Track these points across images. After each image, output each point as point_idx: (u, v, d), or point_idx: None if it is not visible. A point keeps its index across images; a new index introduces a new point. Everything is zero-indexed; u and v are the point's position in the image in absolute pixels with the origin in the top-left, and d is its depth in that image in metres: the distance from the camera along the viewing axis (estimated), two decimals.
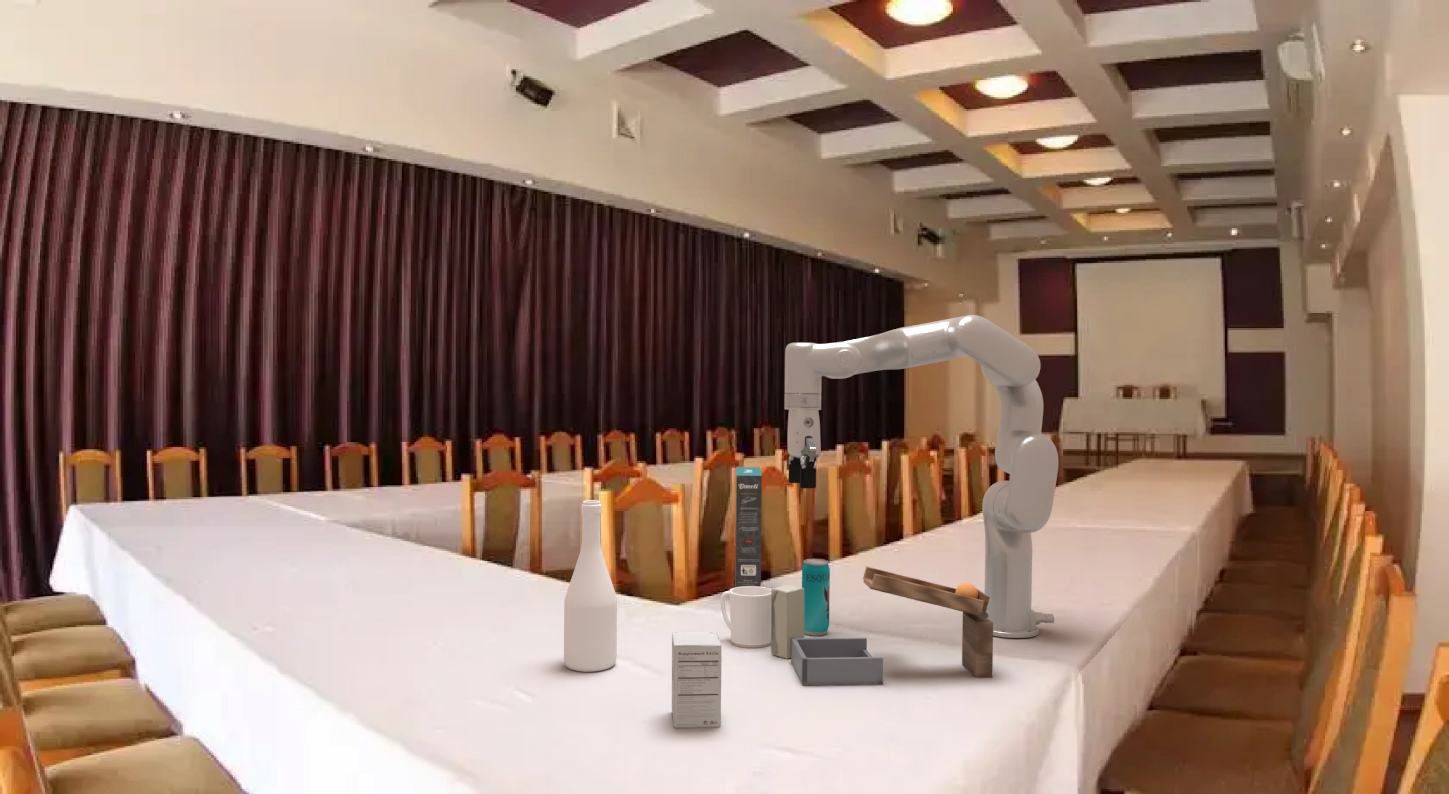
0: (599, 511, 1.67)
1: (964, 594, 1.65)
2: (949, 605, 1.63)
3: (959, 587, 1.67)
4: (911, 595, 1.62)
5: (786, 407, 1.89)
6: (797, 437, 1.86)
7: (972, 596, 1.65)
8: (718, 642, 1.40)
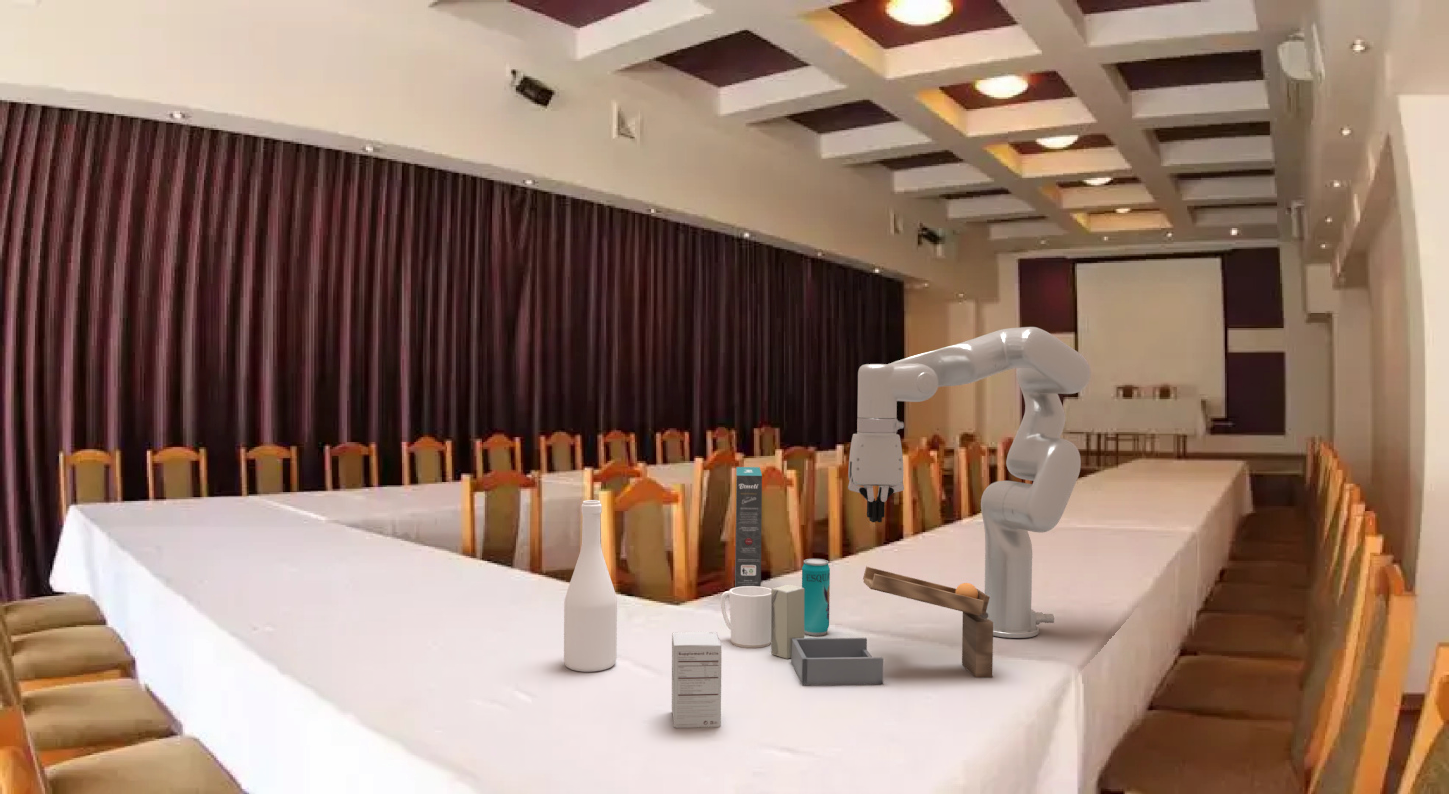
0: (599, 511, 1.67)
1: (964, 594, 1.65)
2: (949, 605, 1.63)
3: (959, 587, 1.67)
4: (911, 595, 1.62)
5: (885, 433, 1.76)
6: (900, 464, 1.78)
7: (972, 596, 1.65)
8: (718, 642, 1.40)
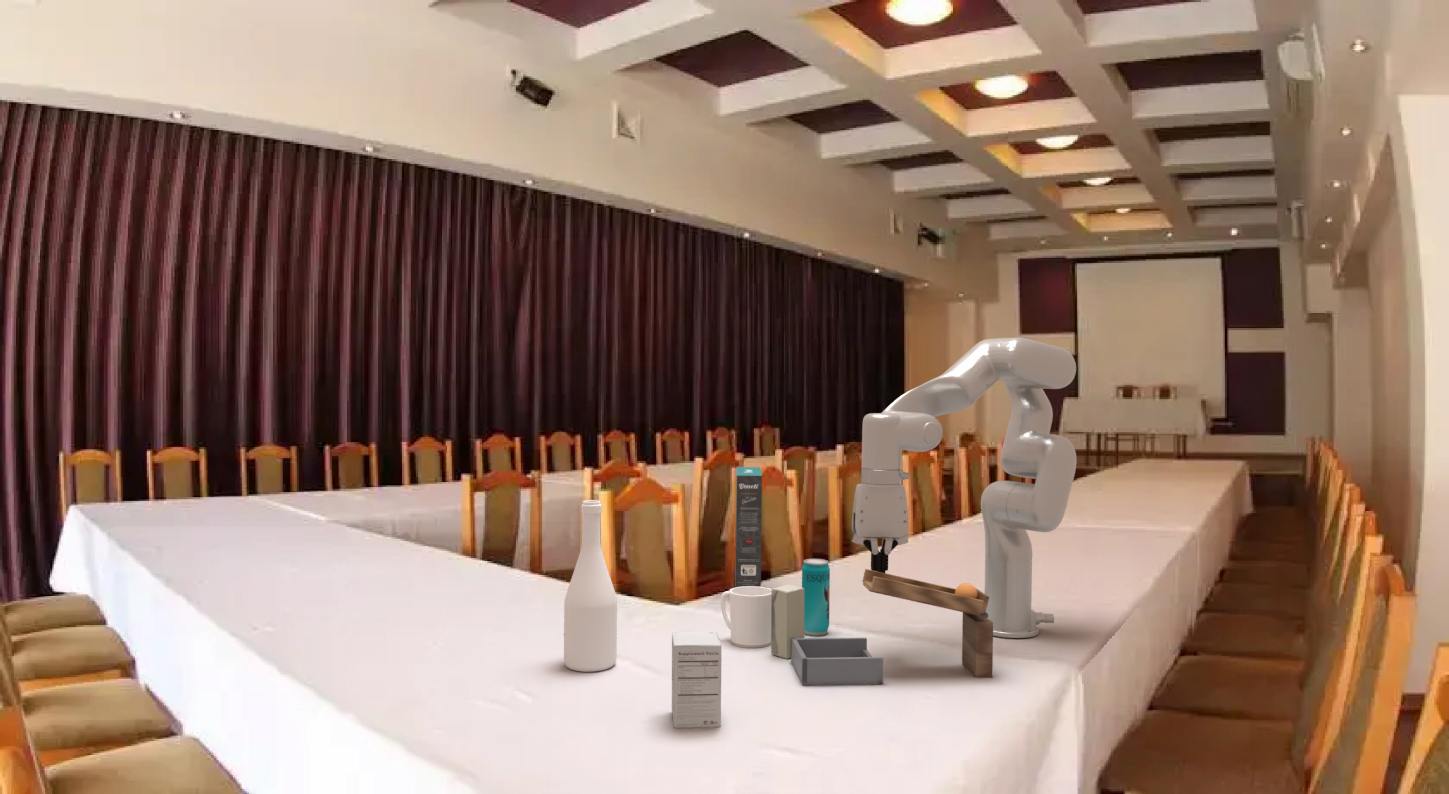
0: (599, 511, 1.67)
1: (964, 594, 1.65)
2: (949, 606, 1.63)
3: (958, 587, 1.67)
4: (911, 597, 1.62)
5: (890, 485, 1.72)
6: (905, 516, 1.74)
7: (972, 596, 1.65)
8: (718, 642, 1.40)
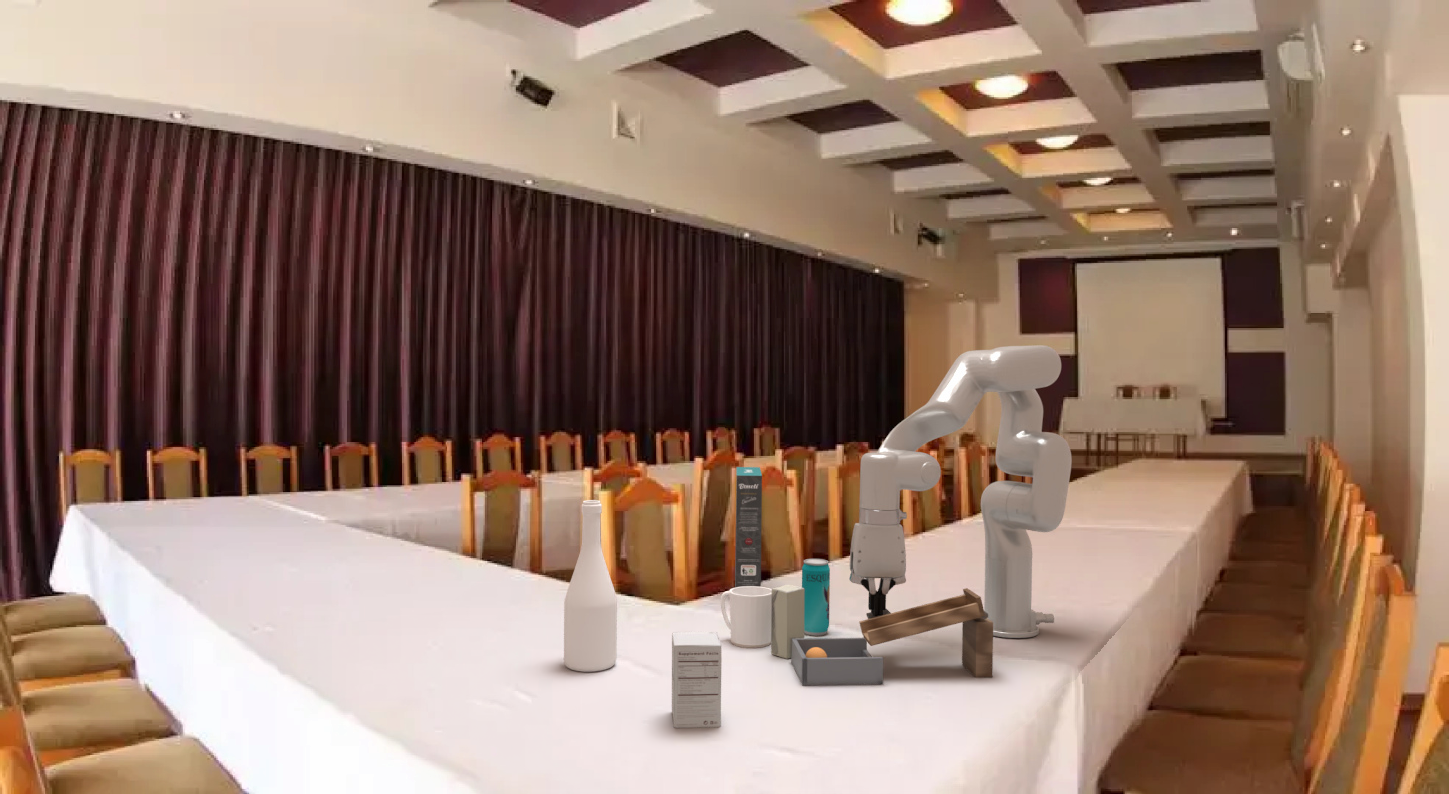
0: (599, 511, 1.67)
1: None
2: (948, 623, 1.63)
3: None
4: (910, 633, 1.63)
5: (887, 525, 1.72)
6: (903, 556, 1.74)
7: None
8: (718, 642, 1.40)
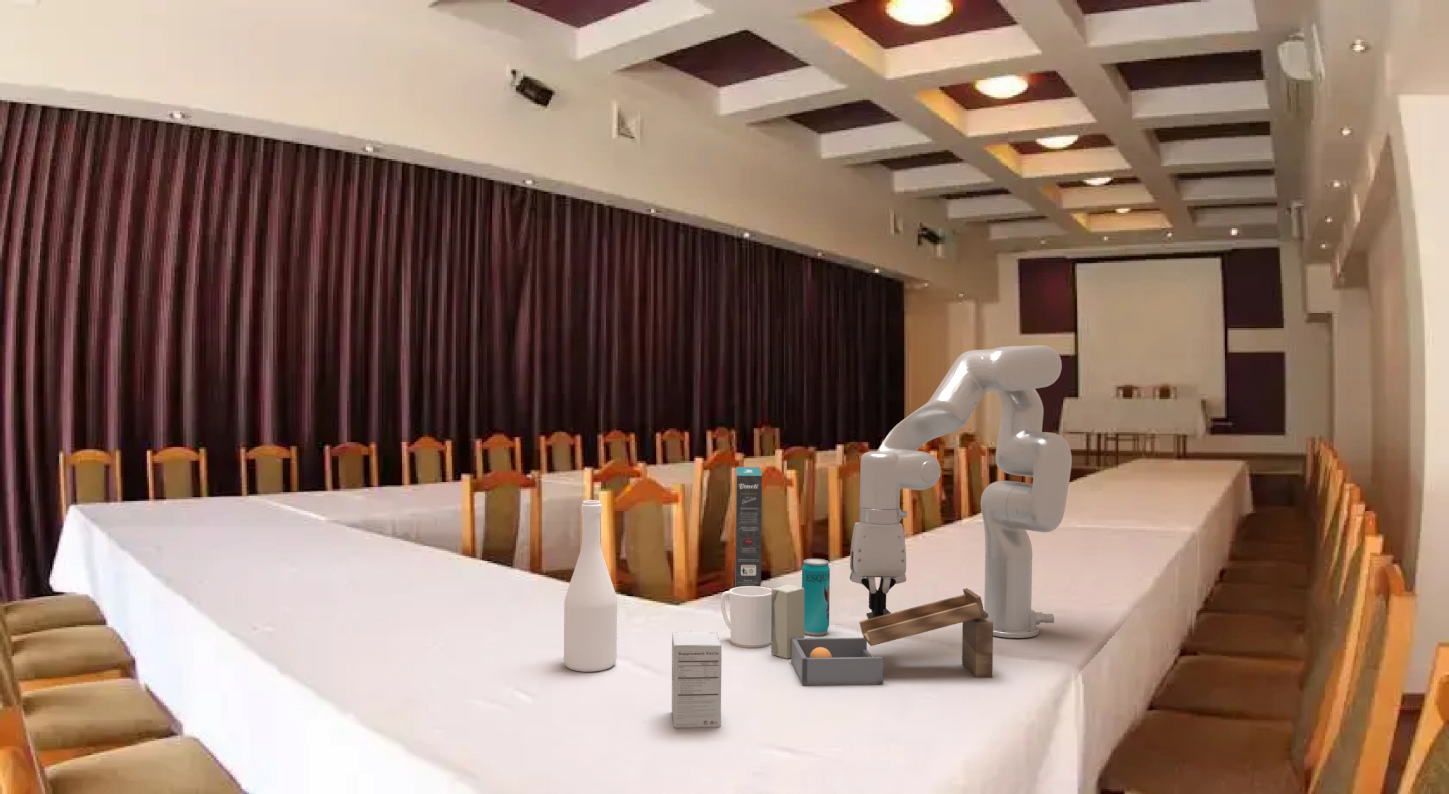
0: (599, 511, 1.67)
1: None
2: (948, 623, 1.63)
3: None
4: (910, 633, 1.63)
5: (888, 524, 1.72)
6: (903, 555, 1.74)
7: None
8: (718, 642, 1.40)
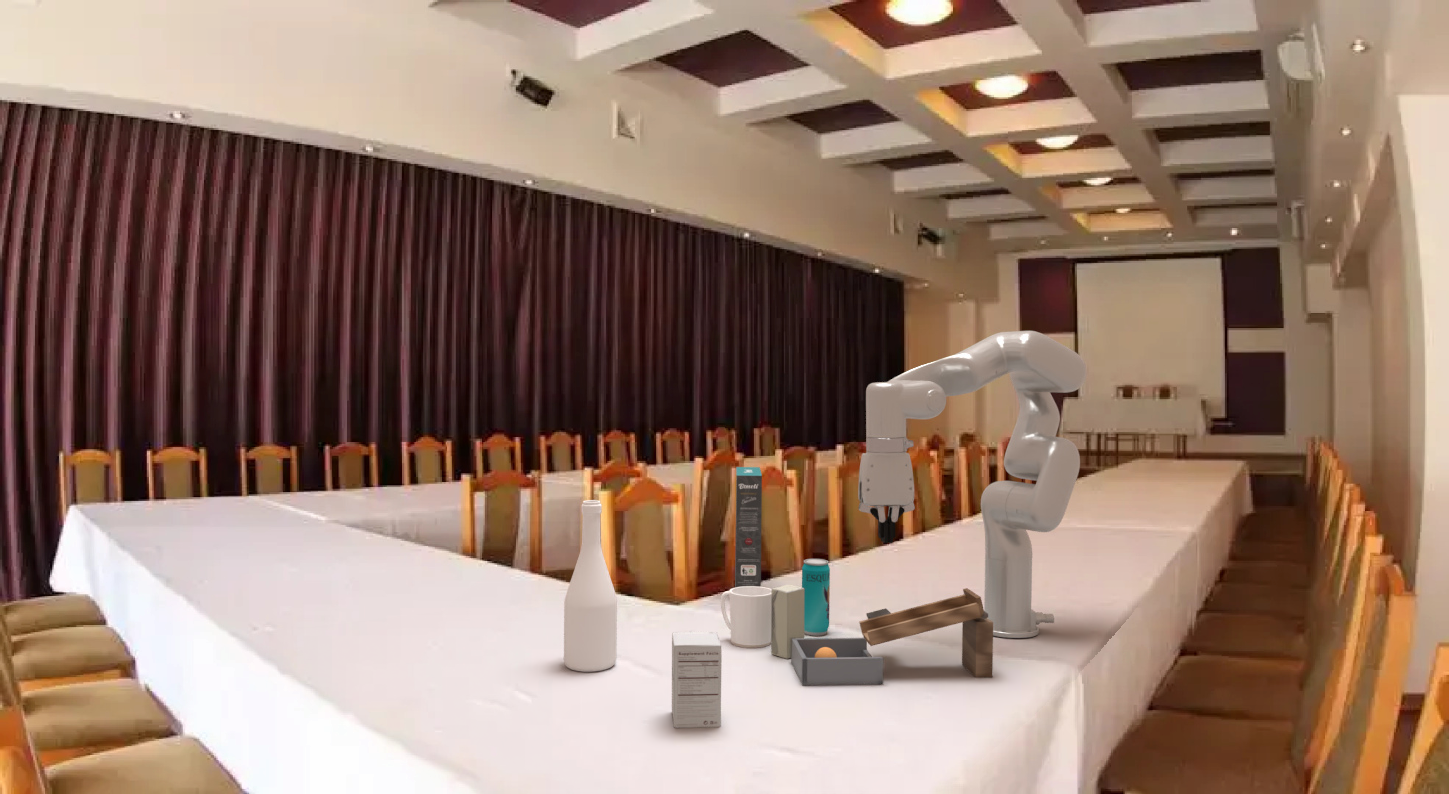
0: (599, 511, 1.67)
1: None
2: (948, 623, 1.63)
3: None
4: (910, 633, 1.63)
5: (895, 453, 1.73)
6: (911, 483, 1.75)
7: None
8: (718, 642, 1.40)
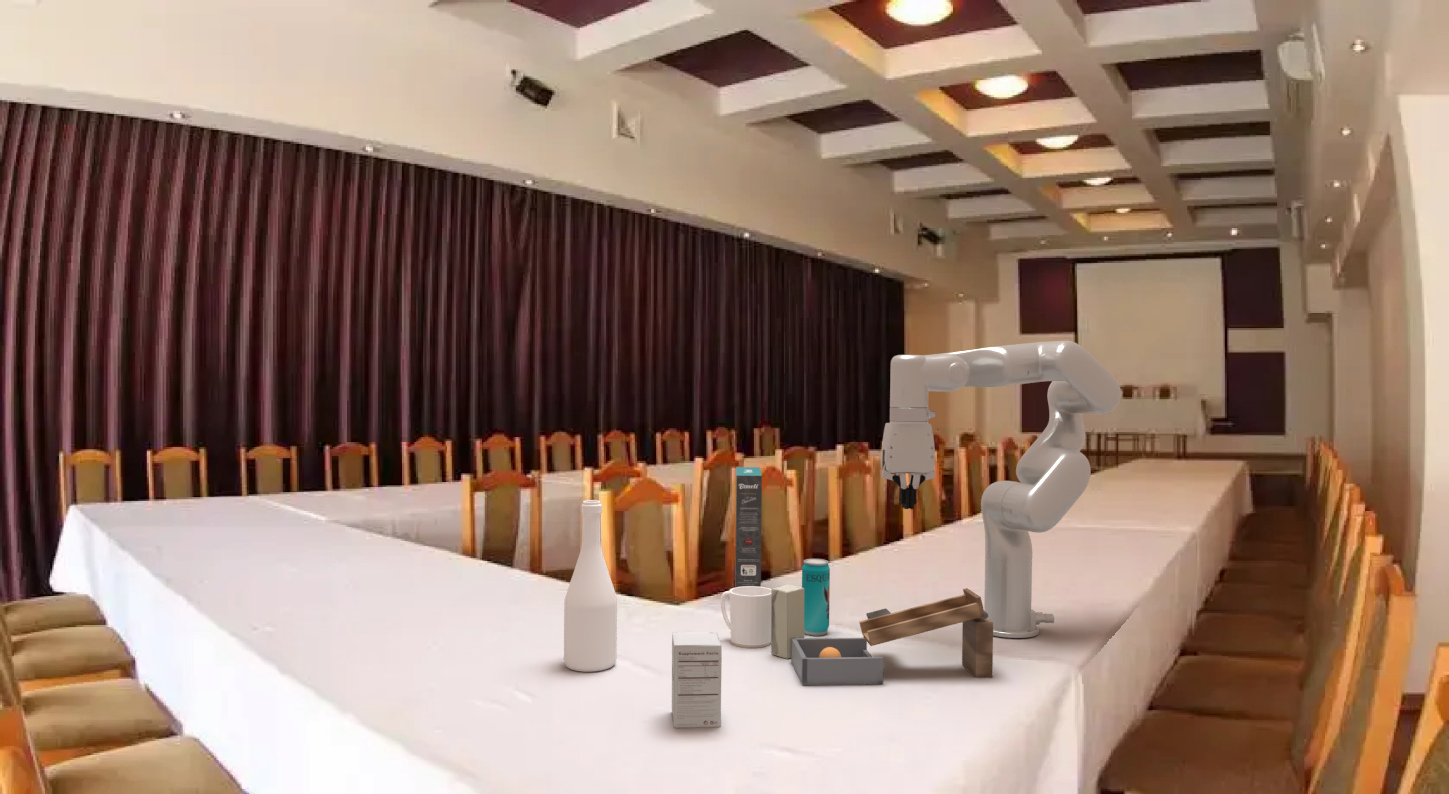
0: (599, 511, 1.67)
1: None
2: (948, 623, 1.63)
3: None
4: (910, 633, 1.63)
5: (918, 422, 1.81)
6: (932, 452, 1.83)
7: None
8: (718, 642, 1.40)
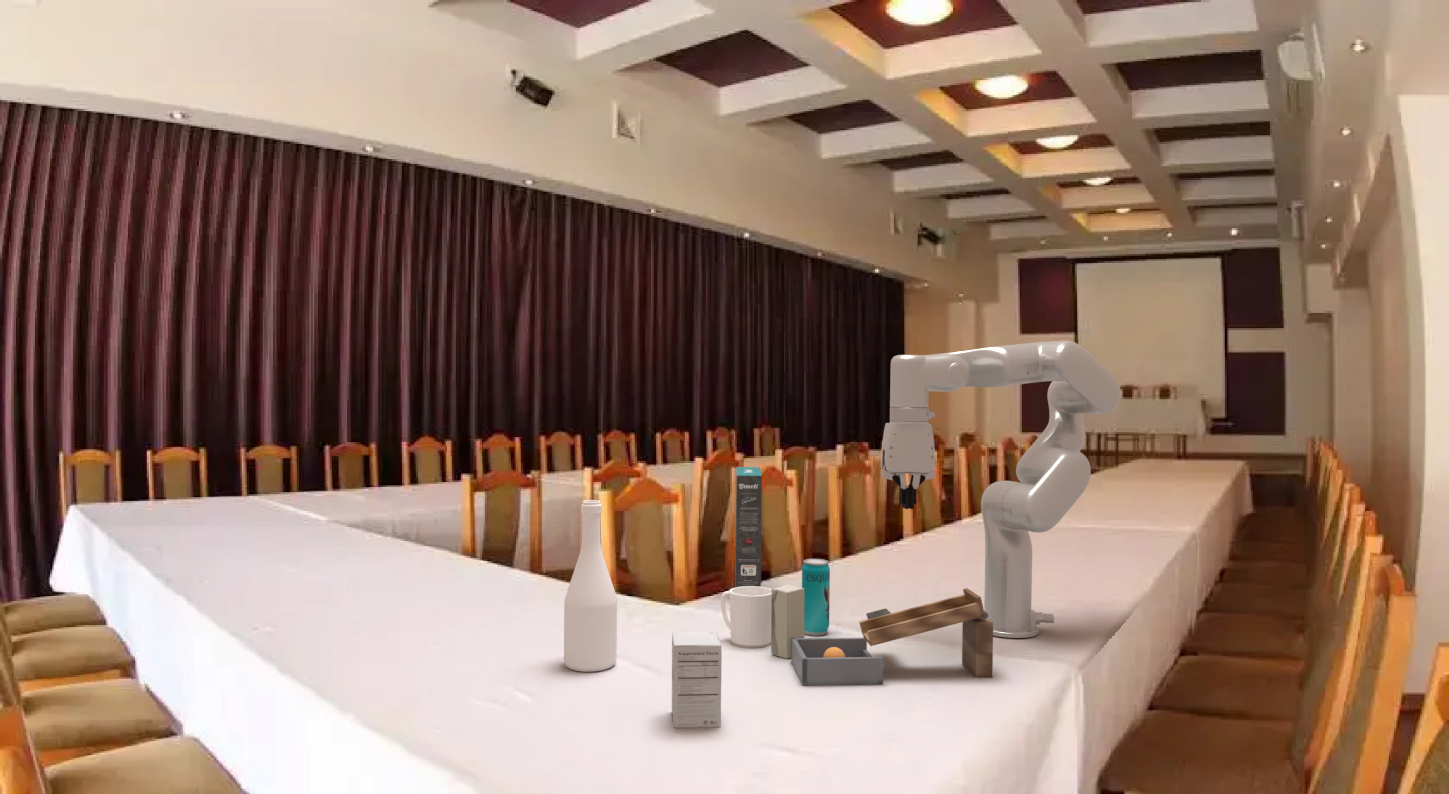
0: (599, 511, 1.67)
1: None
2: (948, 623, 1.63)
3: None
4: (910, 633, 1.63)
5: (918, 422, 1.81)
6: (932, 452, 1.83)
7: None
8: (718, 642, 1.40)
